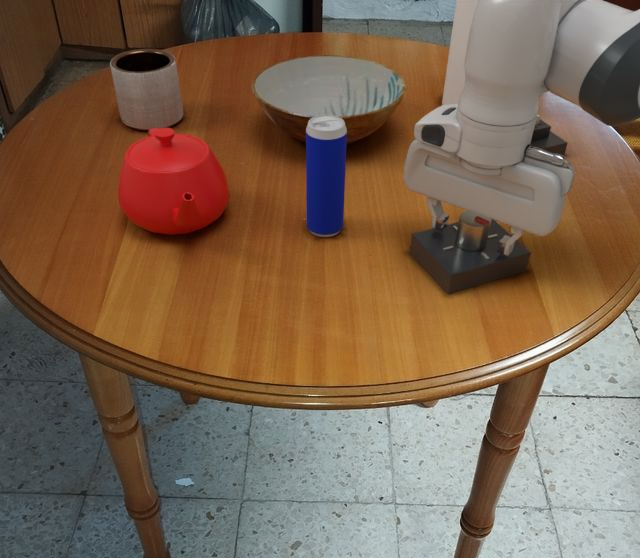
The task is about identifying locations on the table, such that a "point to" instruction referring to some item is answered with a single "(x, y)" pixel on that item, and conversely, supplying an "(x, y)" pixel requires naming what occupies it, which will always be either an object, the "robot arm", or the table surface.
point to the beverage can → (325, 174)
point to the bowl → (328, 93)
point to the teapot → (172, 183)
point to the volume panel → (466, 258)
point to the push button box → (547, 139)
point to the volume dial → (472, 231)
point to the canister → (458, 51)
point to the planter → (147, 88)
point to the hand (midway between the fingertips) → (471, 239)
